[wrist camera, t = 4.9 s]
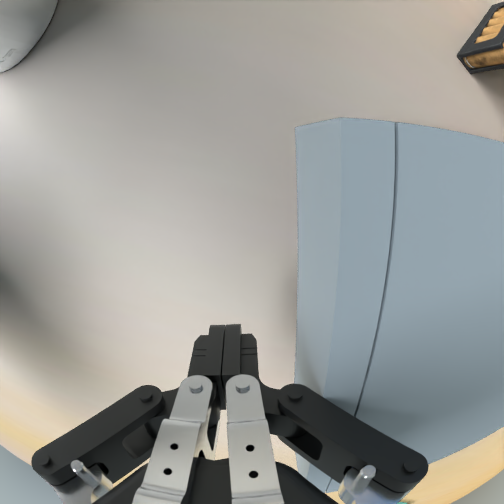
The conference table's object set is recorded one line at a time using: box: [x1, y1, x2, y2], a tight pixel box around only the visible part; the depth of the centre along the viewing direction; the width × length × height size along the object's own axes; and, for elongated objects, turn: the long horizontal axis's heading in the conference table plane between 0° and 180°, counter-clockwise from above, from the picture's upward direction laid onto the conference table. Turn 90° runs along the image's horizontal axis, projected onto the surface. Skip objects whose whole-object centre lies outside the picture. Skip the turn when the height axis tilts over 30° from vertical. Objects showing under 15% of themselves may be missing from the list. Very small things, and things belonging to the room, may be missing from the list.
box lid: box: [294, 118, 504, 493], centre depth 12 cm, size 19×20×6 cm
